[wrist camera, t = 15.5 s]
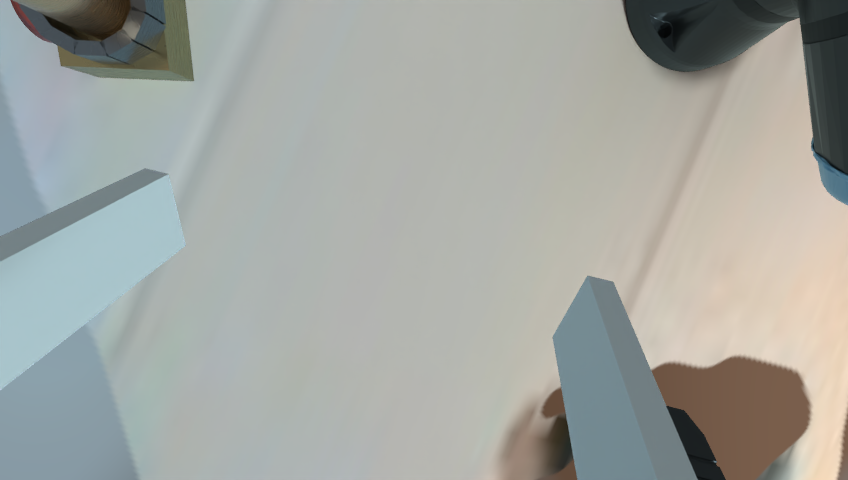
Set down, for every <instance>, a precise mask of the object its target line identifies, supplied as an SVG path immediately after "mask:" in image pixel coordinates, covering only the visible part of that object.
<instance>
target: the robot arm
mask: <svg viewBox="0 0 848 480" xmlns="http://www.w3.org/2000/svg"><path fill="white" fill-rule="evenodd" d="M626 11H627V17H628V21H629V25H630V28H631V31H632V33H633V35H634V38H635V40H636V41H637V43H638V45H639V46H640V48H641V49H642V50H643V51H644V53H645V54H646V55H647V56H648V57H650V58H651V59H652V60H653V61H655V62H656V63H658V64H659V65H661V66H663V67H665V68H668V69H671V70H675V71H683V72H689V71H697V70H701V69H705V68H708V67H712V66H715V65H718V64H721V63H724V62H726V61H729V60H731V59H733V58H735V57H737V56H738V55H740V54H741V53H743V52H744V51H746V50H747V49H748V48H750V47H751V46H753V45H754V44H756V43H758V42H759V41H760V40H762V39H763V38H765V37H766V36H768V35H769V34H771V33H772V32H774V31H775V30H777V29H778V28H780V27H781V26H783V25H784V24H785V23H787V22H789V21H791V20H794V19H797V18H800V25H801V32H802V40H803V52H804V61H805V70H806V78H807V87H808V96H809V105H810V114H811V123H812V131H813V138H812V142H811V149H812V151H813V156H814V157H815V159H816V160H817V161H818V166H819V171H820V176H821V181H822V183H823V185H824V187H825V188H826V190H827V191H828V192H829V193H830V194H831V195H832V196H833V197H834V198H836V199H837V200H839V201H840V202H842V203H844V204H846V205H848V0H626ZM184 246H186V244H185V240H184V236H183V232H182V228H181V224H180V219H179V215H178V211H177V207H176V203H175V199H174V195H173V191H172V187H171V183H170V178H169V174H166V173H162V172H158V171H154V170H149V169H143V170H141V171H139V172H136V173H134V174H132V175H130V176H128V177H126V178H124V179H122V180H119V181H117V182H115V183H113V184H111V185H109V186H107V187H105V188H102V189H100V190H98V191H96V192H94V193H92V194H90V195H87V196H85V197H83V198H81V199H79V200H77V201H75V202H73V203H70V204H68V205H66V206H64V207H62V208H60V209H58V210H56V211H53V212H51V213H49V214H47V215H45V216H43V217H41V218H38V219H36V220H34V221H32V222H30V223H28V224H26V225H24V226H21V227H20V228H17V229H15V230H13V231H11V232H9V233H7V234H4V235H2V236H0V390H1V389H3V388H4V387H5V386H6V385H8V384H9V383H10V382H11V381H13V380H14V379H15V378H17V377H18V376H19V375H20V374H22V373H23V372H24V371H26V370H27V369H28V368H29V367H31V366H32V365H33V364H35V363H36V362H37V361H38V360H40V359H41V358H42V357H44V356H45V355H46V354H47V353H49V352H50V351H51V350H52V349H54V348H55V347H56V346H58V345H59V344H60V343H61V342H63V341H64V340H65V339H67V338H68V337H69V336H70V335H72V334H73V333H74V332H76V331H77V330H78V329H79V328H81V327H82V326H83V325H85V324H86V323H87V322H88V321H90V320H91V319H92V318H93V317H95V316H96V315H97V314H99V313H100V312H101V311H102V310H104V309H105V308H106V307H108V306H109V305H110V304H111V303H113V302H114V301H115V300H117V299H118V298H119V297H120V296H122V295H123V294H124V293H126V292H127V291H128V290H129V289H131V288H132V287H133V286H134V285H136V284H137V283H138V282H140V281H141V280H142V279H143V278H145V277H146V276H147V275H149V274H150V273H151V272H152V271H154V270H155V269H156V268H158V267H159V266H160V265H161V264H163V263H164V262H165V261H167V260H168V259H169V258H170V257H172V256H173V255H174V254H175V253H177V252H178V251H179V250H181V249H182V248H183V247H184ZM553 342H554V348H555V353H556V359H557V365H558V371H559V376H560V382H561V388H562V394H563V399H564V405H565V411H566V417H567V422H568V428H569V434H570V440H571V445H572V451H573V457H574V462H575V468H576V474H577V479H578V480H726V479H725V477H724V475H723V473H722V471H721V469H720V467H718V466H717V465H716V462H717V461H716V459H715V457H714V455H713V453H712V451H711V449H710V446H709V444H708V442H707V440H706V438H705V436H704V434H703V433H702V432H701V431H700V429H699V428H698V427H697V426H696V425H695V423H694V422H693V421H692V420H691V419H690V417H689V416H688V415H687V413H686V412H685V411H684V410H681V409H677V408H673V407H669V406H666V404H665V402H664V400H663V397H662V395H661V393H660V390H659V388H658V386H657V383H656V381H655V379H654V376H653V374H652V372H651V369H650V367H649V365H648V362H647V360H646V358H645V355H644V353H643V351H642V348H641V346H640V344H639V341H638V339H637V336H636V334H635V332H634V329H633V327H632V325H631V322H630V320H629V318H628V315H627V313H626V311H625V308H624V306H623V304H622V301H621V299H620V297H619V294H618V292H617V290H616V287H615V285H614V283H613V282H612V281H608V280H604V279H599V278H595V277H591V276H587V277H586V279H585V281H584V283H583V284H582V286H581V288H580V290H579V292H578V293H577V295H576V297H575V299H574V300H573V302H572V304H571V306H570V307H569V309H568V311H567V313H566V314H565V316H564V318H563V320H562V321H561V323H560V325H559V327H558V328H557V330H556V332H555V334H554V335H553Z"/></svg>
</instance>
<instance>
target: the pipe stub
mask: <svg viewBox="0 0 848 480" xmlns="http://www.w3.org/2000/svg"><path fill="white" fill-rule="evenodd" d="M13 1H15V2H17V3H20V4H22V5H24V6H26V7H28V8H31V9H33V10H35V11H37V12H40V13H42V14H44V15H46V16H48V17H51V18H53V19H55V20H57V21H60V22H62V23H64V24H66V25H68V26H71V27H73V28H75V29H77V30H80V31H82V32H84V33H86V34H88V35H91V36H93V37H95V38H97V39H100V40H105V39H106V38H108V37H110V36H111V35H113V34H115V33H117V32H118V31H120V30H122V28H123V25H124V23H125V21H126V19H127V16H128V14H129V12H130V10H131V3H130V0H13Z"/></svg>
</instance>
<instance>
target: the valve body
mask: <svg viewBox="0 0 848 480" xmlns="http://www.w3.org/2000/svg"><path fill="white" fill-rule="evenodd" d="M11 3H12V5H13V8H14V10H15V11H16V13H17V15H18V16H19V18H20V19H21V21H22V22H23V23H24V25H25V26H26V27H27V28H28V29H29V30H30V31H31V32H32V33H33V34H35V35H36V36H37V37H39V38H40V39H42V40H44V41H47V42H51V43H54V44H56V45H57V46H58V52H59V57H60V63H61V66H63V67H66V68H70V69H73V70H76V71H80V72H83V73H87V74H90V75H93V76H97V77H104V78H128V79H152V80H176V81H194V78H193V69H192V60H191V50H190V41H189V32H188V22H187V13H186V4H185V0H130V3H131V10H130V12H129V14H128V16H127V19H126V21H125V23H124V25H123V28H122V30H120V31H118V32H117V33H115V34H113V35H111V36H110V37H108V38H106V39H105V40H100V39H97V38H95V37H93V36H91V35H88V34H86V33H84V32H82V31H80V30H77V29H75V28H73V27H71V26H68V25H66V24H64V23H62V22H60V21H57V20H55V19H53V18H51V17H48V16H46V15H44V14H42V13H40V12H37V11H35V10H33V9H31V8H28V7H26V6H24V5H22V4H20V3H17V2H15V1H13V0H11Z"/></svg>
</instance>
